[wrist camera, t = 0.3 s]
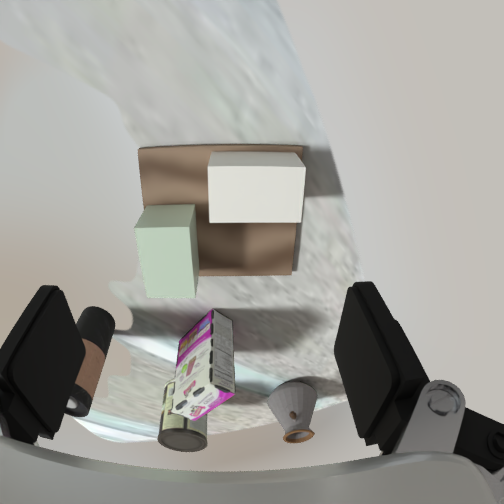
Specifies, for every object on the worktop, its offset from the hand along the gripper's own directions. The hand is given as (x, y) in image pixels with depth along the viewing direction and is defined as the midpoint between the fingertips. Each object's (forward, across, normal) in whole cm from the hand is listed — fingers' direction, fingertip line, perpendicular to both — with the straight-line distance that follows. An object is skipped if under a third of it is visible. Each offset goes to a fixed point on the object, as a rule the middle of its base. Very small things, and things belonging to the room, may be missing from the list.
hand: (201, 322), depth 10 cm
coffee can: (+37, +11, +55) cm, 67 cm away
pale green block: (+35, +8, +15) cm, 39 cm away
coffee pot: (+37, -12, +51) cm, 64 cm away
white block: (+35, -4, +6) cm, 35 cm away
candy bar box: (+37, +5, +35) cm, 51 cm away
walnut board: (+36, +1, +12) cm, 38 cm away
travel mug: (+37, +26, +33) cm, 56 cm away
